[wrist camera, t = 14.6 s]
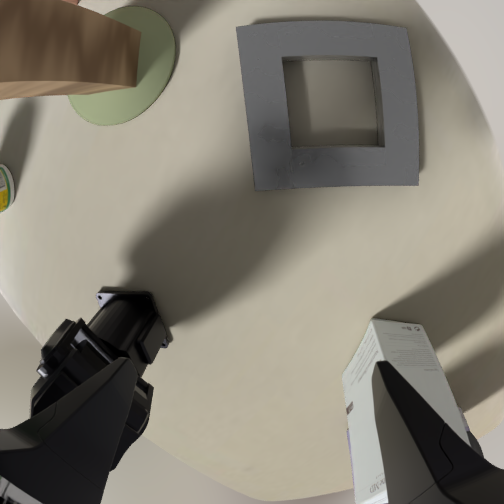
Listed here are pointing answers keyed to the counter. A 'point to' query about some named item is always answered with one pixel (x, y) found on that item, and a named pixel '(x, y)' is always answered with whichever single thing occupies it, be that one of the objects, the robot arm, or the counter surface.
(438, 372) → the skincare box
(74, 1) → the terracotta cubby
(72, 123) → the counter surface
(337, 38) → the hole plate
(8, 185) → the supplement bottle
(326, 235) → the counter surface
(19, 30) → the walnut block
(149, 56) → the olive mat
